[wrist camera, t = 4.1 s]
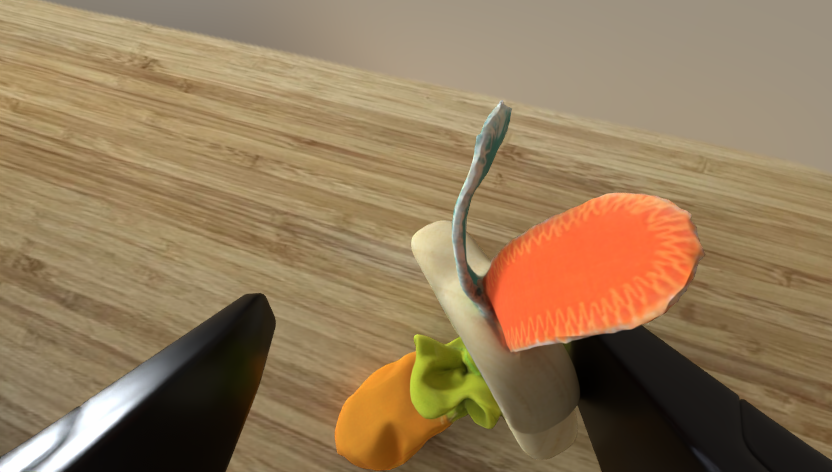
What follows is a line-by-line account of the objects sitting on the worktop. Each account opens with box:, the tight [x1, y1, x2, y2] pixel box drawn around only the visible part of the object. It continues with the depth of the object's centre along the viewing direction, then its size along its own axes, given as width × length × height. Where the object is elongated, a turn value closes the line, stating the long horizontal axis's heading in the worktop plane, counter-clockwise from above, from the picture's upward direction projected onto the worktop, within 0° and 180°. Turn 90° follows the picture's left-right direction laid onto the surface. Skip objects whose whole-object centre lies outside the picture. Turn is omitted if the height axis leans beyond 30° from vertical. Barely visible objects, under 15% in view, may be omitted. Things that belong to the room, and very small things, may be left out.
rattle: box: [335, 100, 705, 471], centre depth 9 cm, size 8×8×12 cm
